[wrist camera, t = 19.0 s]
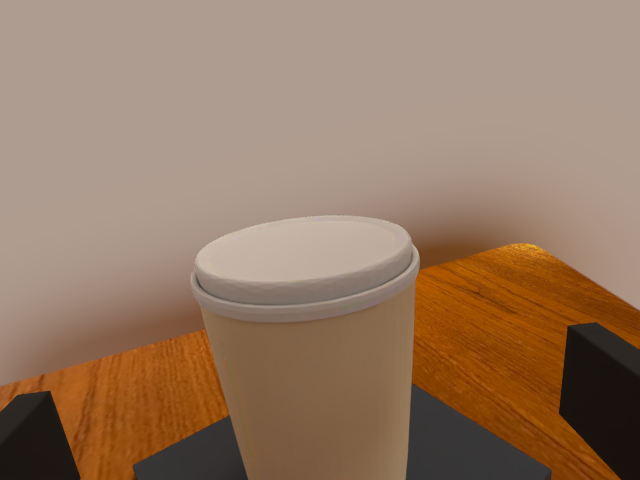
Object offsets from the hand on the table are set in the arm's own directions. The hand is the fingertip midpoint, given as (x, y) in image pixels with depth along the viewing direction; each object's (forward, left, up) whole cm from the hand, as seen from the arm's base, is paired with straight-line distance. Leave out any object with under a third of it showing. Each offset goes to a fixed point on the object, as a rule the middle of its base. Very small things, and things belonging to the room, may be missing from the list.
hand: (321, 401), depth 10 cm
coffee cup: (+6, -4, -10) cm, 12 cm away
